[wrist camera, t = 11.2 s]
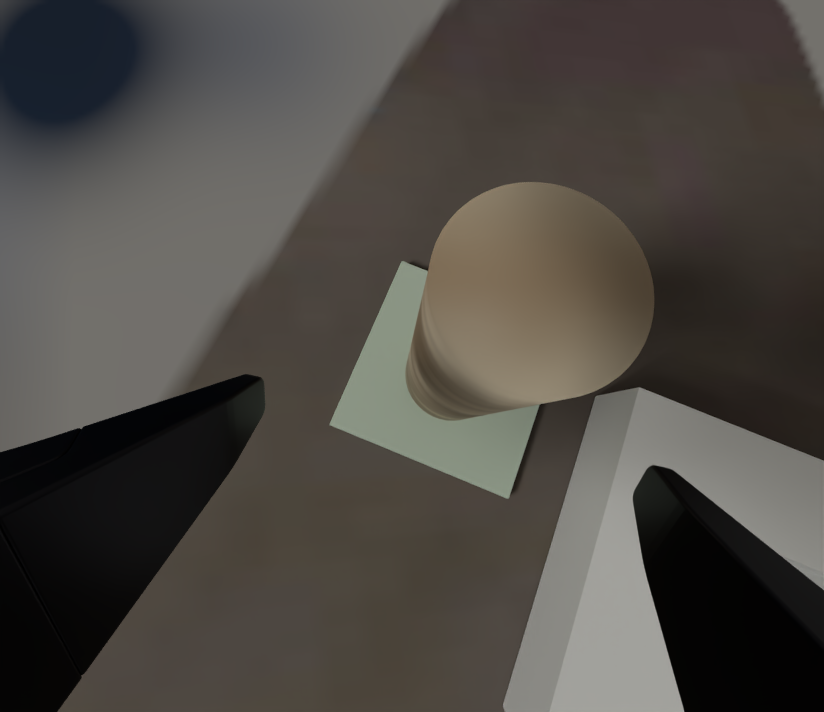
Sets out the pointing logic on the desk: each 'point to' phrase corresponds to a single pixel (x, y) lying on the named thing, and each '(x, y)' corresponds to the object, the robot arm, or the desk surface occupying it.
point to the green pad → (406, 422)
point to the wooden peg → (527, 303)
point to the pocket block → (621, 554)
